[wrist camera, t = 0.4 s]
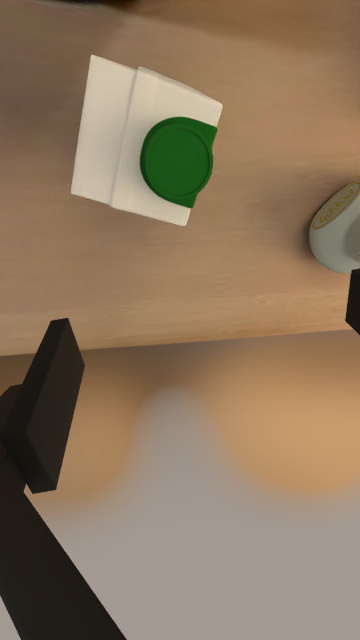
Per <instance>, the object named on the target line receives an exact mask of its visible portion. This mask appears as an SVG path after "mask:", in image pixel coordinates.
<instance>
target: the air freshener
mask: <svg viewBox="0 0 360 640" xmlns="http://www.w3.org/2000/svg"><path fill="white" fill-rule="evenodd" d="M309 241H310V246H311V249H312V252H313V254H314V256H315V258H316V259H317V260H318V261H319V262H320V263H321V264H322V265H323V266H324V267H326V268H327V269H329V270H332V271H334V272H338V273H351V270H353V269H359V268H360V180H357V181H354V182H352V183H351V184H349V185H347V186H346V187H344V188H343V189H341V190H340V191H339V192H338V193H336V194H335V195H334V196H333V197H332V198H331V199H330V200H329V201H328V202H327V203H326V204H325V205H324V206H323V207H322V208H321V209H320V210H319V212H318V213H317V214H316V216H315V217H314V219H313V221H312V223H311V226H310V232H309Z"/></svg>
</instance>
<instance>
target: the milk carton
mask: <svg viewBox="0 0 360 640" xmlns="http://www.w3.org/2000/svg"><path fill="white" fill-rule="evenodd" d="M222 107H223V106H222V104H221V103H220V102H218V101H215V100H213V99H211V98H210V97H208V96H206V95H204V94H203V93H201V92H199V91H197V90H195V89H193V88H191V87H189V86H187V85H185V84H183V83H180V82H178V81H176V80H173V79H171V78H168V77H166V76H163V75H161V74H158V73H157V72H154V71H152V70H149V69H147V68H144V67H141V66H139V67H138V69H137V70H136V69H133V68H131V67H128V66H125V65H122V64H119V63H116V62H113V61H110V60H107V59H104V58H101V57H98V56H95V55H91V59H90V66H89V72H88V78H87V84H86V90H85V96H84V102H83V109H82V116H81V122H80V129H79V136H78V143H77V149H76V156H75V164H74V171H73V179H72V186H71V193H72V194H75V195H78V196H81V197H85V198H88V199H92V200H95V201H99V202H102V203H106V204H109V205H110V207H112V208H115V209H119V210H122V211H128V212H131V213H135V214H139V215H142V216H146V217H150V218H153V219H157V220H161V221H165V222H169V223H173V224H177V225H180V226H185V225H186V223H187V220H188V217H189V213H190V210H191V208H193V206H194V203H195V199H196V196H197V193H198V192H200V191H201V190H202V189H203V188H204V186H205V185H206V184H207V182H208V180H209V178H210V176H211V172H212V168H213V156H212V145H213V142H214V139H215V135H216V132H217V127H216V126H217V123H218V120H219V117H220V114H221V111H222Z"/></svg>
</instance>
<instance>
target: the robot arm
mask: <svg viewBox="0 0 360 640" xmlns="http://www.w3.org/2000/svg"><path fill="white" fill-rule="evenodd" d="M345 321H346V322H347V323H348V324H349V325H350V326H351V327H352V328H353V329H354V330H355V331H356V332H357V333H358V334H359V335H360V268H359V269H353V270H351V278H350V287H349V295H348V303H347V311H346V319H345ZM84 367H85V365H84V362H83V359H82V356H81V353H80V351H79V348H78V345H77V342H76V339H75V336H74V334H73V331H72V328H71V325H70V322H69V319H68V318H64V319H58V320H53V321H51V322H50V324H49V327H48V329H47V331H46V333H45V335H44V337H43V340H42V342H41V344H40V346H39V348H38V351H37V353H36V355H35V357H34V359H33V362H32V364H31V366H30V368H29V371H28V372H27V375H26V377H25V379H24V381H23V383H22V384H20V385H14V386H10V387H9V388H8V389H7V390H6V391H5V392H4V393H3V394H2V395H1V396H0V596H1V598H2V600H3V602H4V604H5V606H6V609H7V611H8V613H9V615H10V617H11V619H12V621H13V623H14V626H15V628H16V630H17V632H18V634H19V636H20V638H21V640H127V639H126V638H125V637H124V635H123V634H122V632H121V631H120V630H119V628H118V627H117V625H116V624H115V622H114V621H113V619H112V618H111V617H110V615H109V614H108V612H107V611H106V609H105V608H104V606H103V605H102V604H101V602H100V601H99V600H98V598H97V596H96V595H95V594H94V592H93V591H92V589H91V588H90V587H89V585H88V584H87V582H86V581H85V579H84V578H83V576H82V575H81V574H80V572H79V571H78V569H77V568H76V566H75V565H74V564H73V562H72V561H71V559H70V558H69V556H68V555H67V554H66V552H65V551H64V549H63V548H62V546H61V545H60V544H59V542H58V541H57V539H56V538H55V536H54V535H53V534H52V532H51V531H50V529H49V528H48V526H47V525H46V524H45V522H44V521H43V519H42V518H41V516H40V515H39V514H38V512H37V511H36V509H35V508H34V506H33V505H32V504H31V502H30V501H29V499H28V498H27V496H26V495H25V494H24V488H25V485H26V484H27V485H28V487H29V488H30V490H31V492H32V494H35V493H40V492H47V491H52V490H56V487H57V483H58V478H59V474H60V470H61V466H62V462H63V457H64V453H65V449H66V444H67V440H68V436H69V431H70V427H71V423H72V418H73V414H74V409H75V406H76V402H77V397H78V393H79V389H80V384H81V380H82V376H83V371H84Z"/></svg>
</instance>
